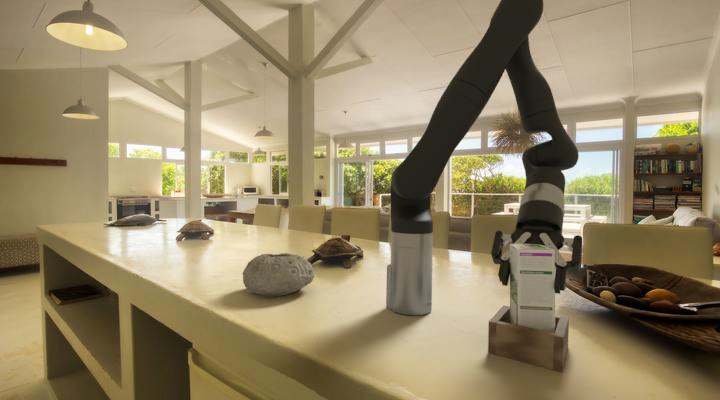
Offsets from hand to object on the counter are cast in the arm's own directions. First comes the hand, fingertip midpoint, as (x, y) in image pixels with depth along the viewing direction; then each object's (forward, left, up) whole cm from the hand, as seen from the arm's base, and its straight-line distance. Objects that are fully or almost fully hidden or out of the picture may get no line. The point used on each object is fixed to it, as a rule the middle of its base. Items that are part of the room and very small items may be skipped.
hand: (529, 286), depth 55 cm
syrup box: (0, +2, -8) cm, 8 cm away
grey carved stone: (-58, -1, -11) cm, 59 cm away
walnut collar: (0, +1, -11) cm, 11 cm away
